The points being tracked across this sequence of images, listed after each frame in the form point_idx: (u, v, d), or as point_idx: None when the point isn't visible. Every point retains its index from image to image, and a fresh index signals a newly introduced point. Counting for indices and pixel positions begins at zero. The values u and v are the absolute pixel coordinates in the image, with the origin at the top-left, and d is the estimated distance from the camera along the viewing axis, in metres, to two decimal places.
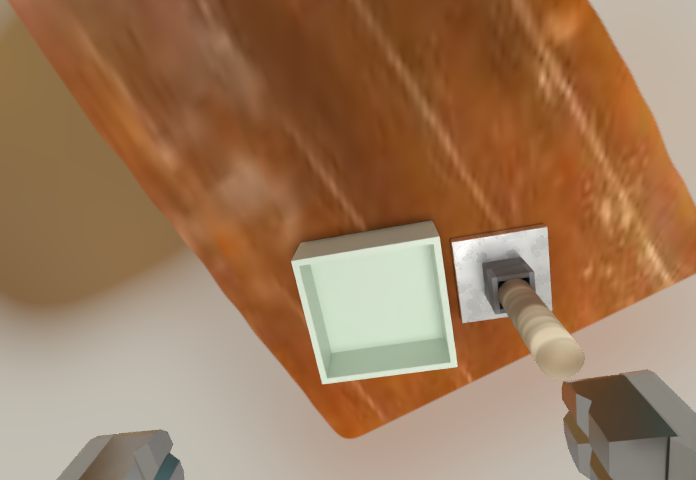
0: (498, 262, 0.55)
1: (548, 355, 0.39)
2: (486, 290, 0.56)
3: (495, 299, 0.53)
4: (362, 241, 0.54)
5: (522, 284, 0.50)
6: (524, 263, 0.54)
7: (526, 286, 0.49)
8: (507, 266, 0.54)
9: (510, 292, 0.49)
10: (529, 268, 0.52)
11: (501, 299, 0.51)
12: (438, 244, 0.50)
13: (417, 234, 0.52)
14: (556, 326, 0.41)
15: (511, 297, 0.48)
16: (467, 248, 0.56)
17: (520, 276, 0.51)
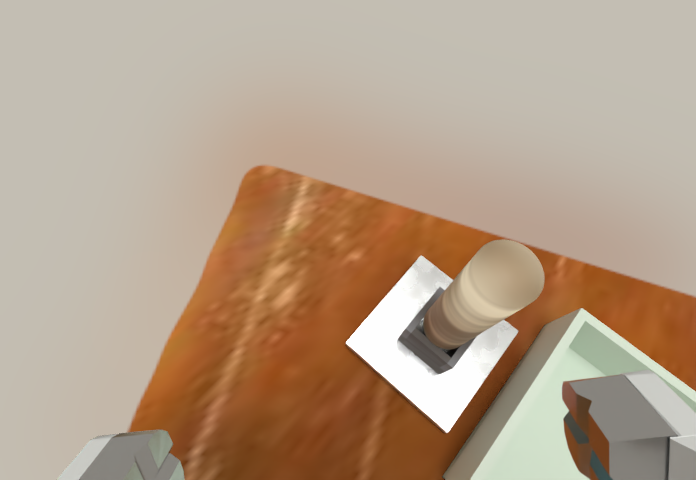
0: (424, 360, 0.40)
1: (518, 294, 0.23)
2: None
3: (471, 339, 0.36)
4: None
5: (433, 335, 0.35)
6: (403, 336, 0.39)
7: (431, 329, 0.34)
8: (421, 352, 0.38)
9: (453, 343, 0.34)
10: (405, 332, 0.37)
11: None
12: (475, 478, 0.32)
13: None
14: (467, 302, 0.26)
15: (460, 341, 0.33)
16: (438, 407, 0.39)
17: (423, 337, 0.36)
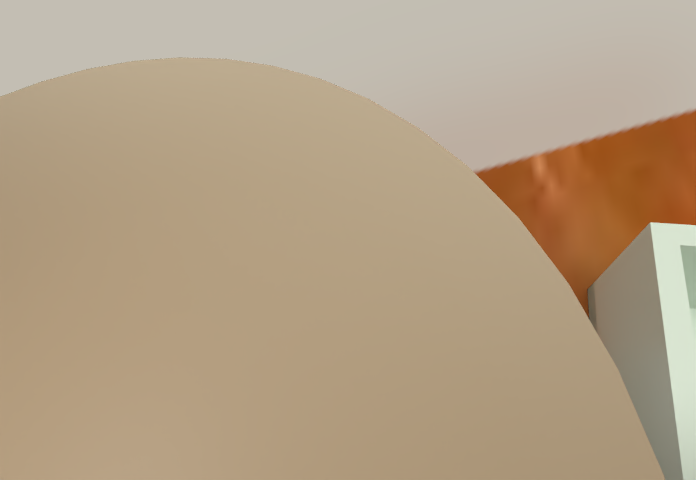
0: None
1: None
2: None
3: None
4: None
5: None
6: None
7: None
8: None
9: None
10: None
11: None
12: None
13: None
14: None
15: None
16: None
17: None
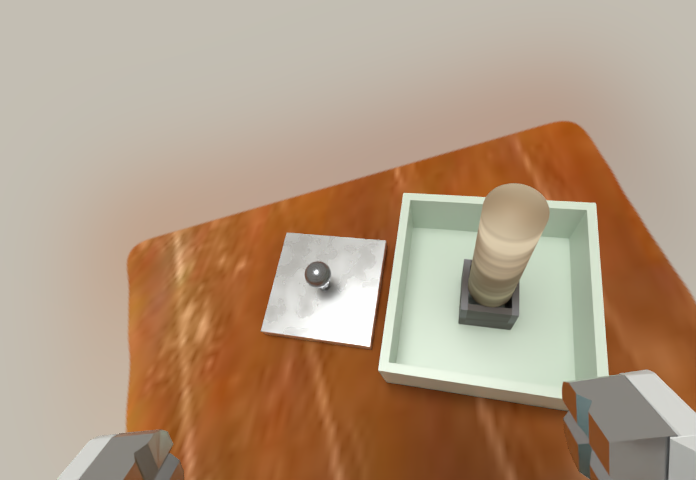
0: (491, 325, 0.42)
1: (534, 220, 0.26)
2: None
3: (517, 284, 0.39)
4: (486, 392, 0.37)
5: (486, 299, 0.37)
6: (462, 317, 0.41)
7: (482, 296, 0.37)
8: (485, 320, 0.41)
9: (507, 295, 0.36)
10: (462, 312, 0.40)
11: None
12: (382, 359, 0.37)
13: (407, 378, 0.38)
14: (499, 253, 0.29)
15: (511, 290, 0.35)
16: (353, 332, 0.44)
17: (479, 307, 0.39)
